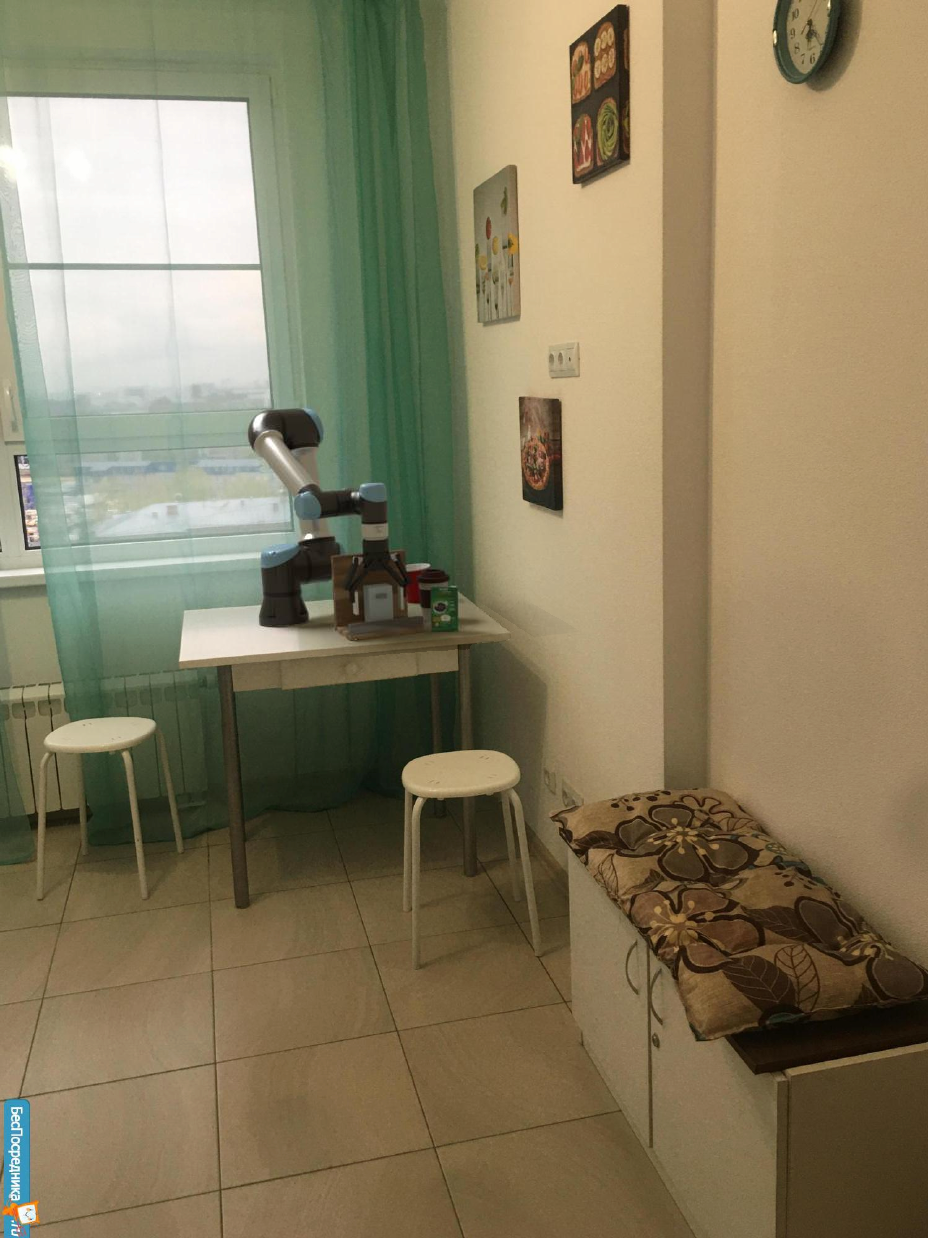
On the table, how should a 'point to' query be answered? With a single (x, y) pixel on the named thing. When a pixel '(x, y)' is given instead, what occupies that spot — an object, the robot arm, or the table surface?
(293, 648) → the table surface
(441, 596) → the coffee box
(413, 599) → the plastic cup
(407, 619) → the brown wooden display stand
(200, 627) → the table surface
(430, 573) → the coffee cup
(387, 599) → the small blue-gray block
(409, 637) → the table surface
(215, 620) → the table surface
